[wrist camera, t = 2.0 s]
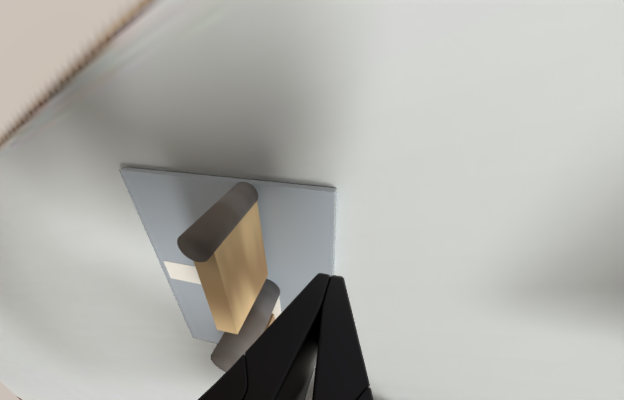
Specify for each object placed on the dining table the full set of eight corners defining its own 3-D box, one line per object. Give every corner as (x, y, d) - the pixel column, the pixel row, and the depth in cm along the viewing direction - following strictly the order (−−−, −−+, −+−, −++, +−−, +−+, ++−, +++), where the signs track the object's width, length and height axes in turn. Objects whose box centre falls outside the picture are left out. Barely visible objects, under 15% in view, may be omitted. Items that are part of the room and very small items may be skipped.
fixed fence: (290, 353, 19) (265, 433, 15) (267, 347, 20) (237, 424, 16) (281, 275, 15) (243, 358, 11) (253, 270, 16) (206, 348, 12)
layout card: (330, 367, 19) (329, 373, 19) (195, 333, 21) (192, 337, 21) (336, 188, 11) (334, 192, 11) (125, 167, 14) (118, 170, 13)
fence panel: (269, 275, 14) (236, 341, 11) (249, 271, 14) (211, 335, 11) (256, 183, 11) (205, 237, 8) (231, 180, 11) (172, 231, 8)
